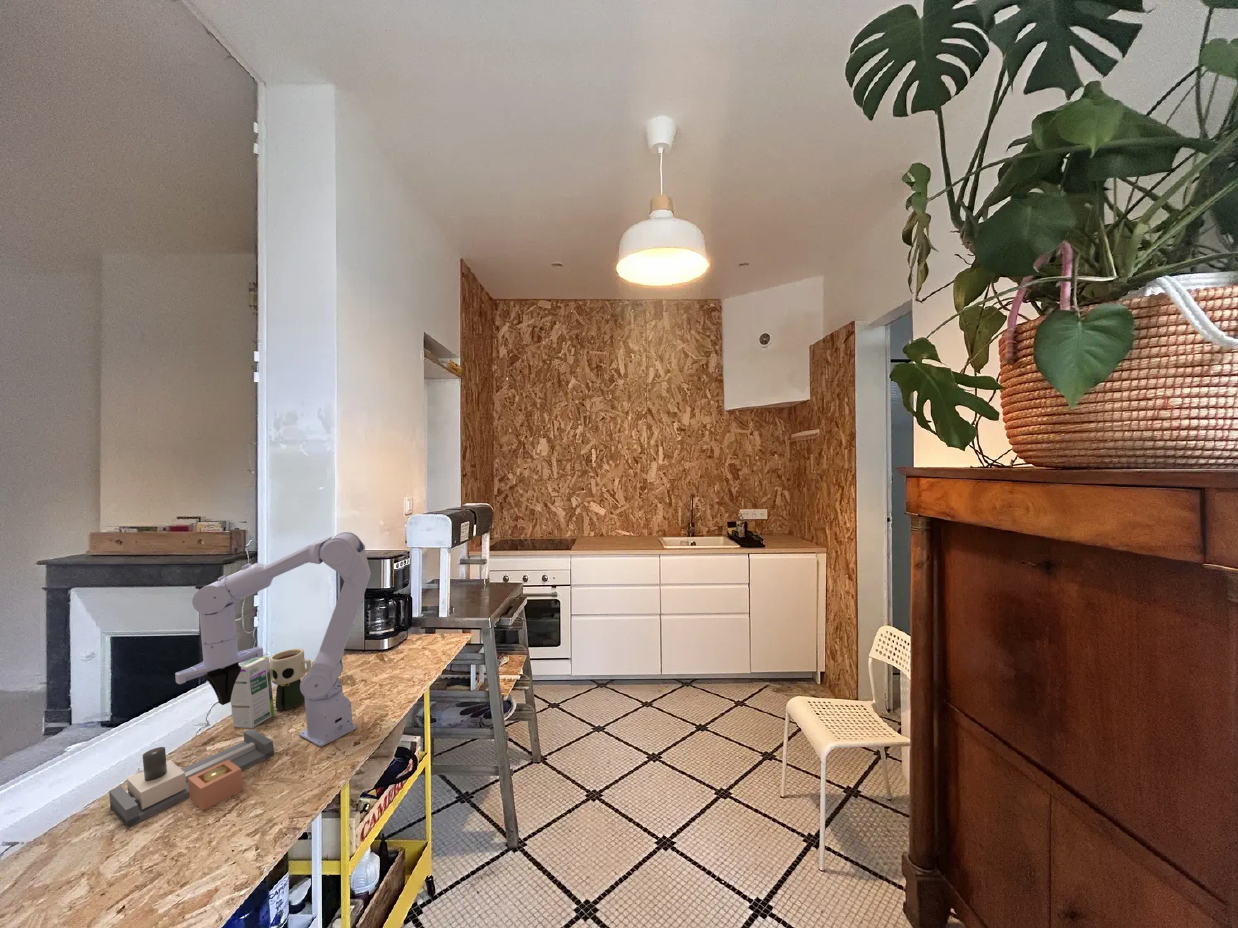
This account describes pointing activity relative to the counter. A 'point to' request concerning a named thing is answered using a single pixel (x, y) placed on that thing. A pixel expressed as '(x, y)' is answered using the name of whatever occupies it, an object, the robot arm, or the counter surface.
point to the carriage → (156, 779)
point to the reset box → (215, 786)
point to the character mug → (288, 676)
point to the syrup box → (252, 694)
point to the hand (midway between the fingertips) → (224, 702)
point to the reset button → (214, 774)
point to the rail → (240, 754)
